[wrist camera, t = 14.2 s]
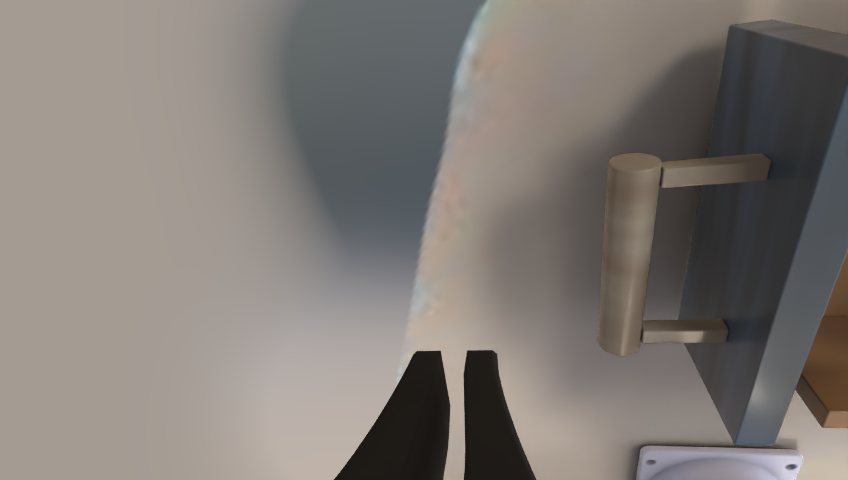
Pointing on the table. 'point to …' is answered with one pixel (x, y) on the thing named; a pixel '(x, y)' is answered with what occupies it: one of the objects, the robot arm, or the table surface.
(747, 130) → the drawer
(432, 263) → the table surface
